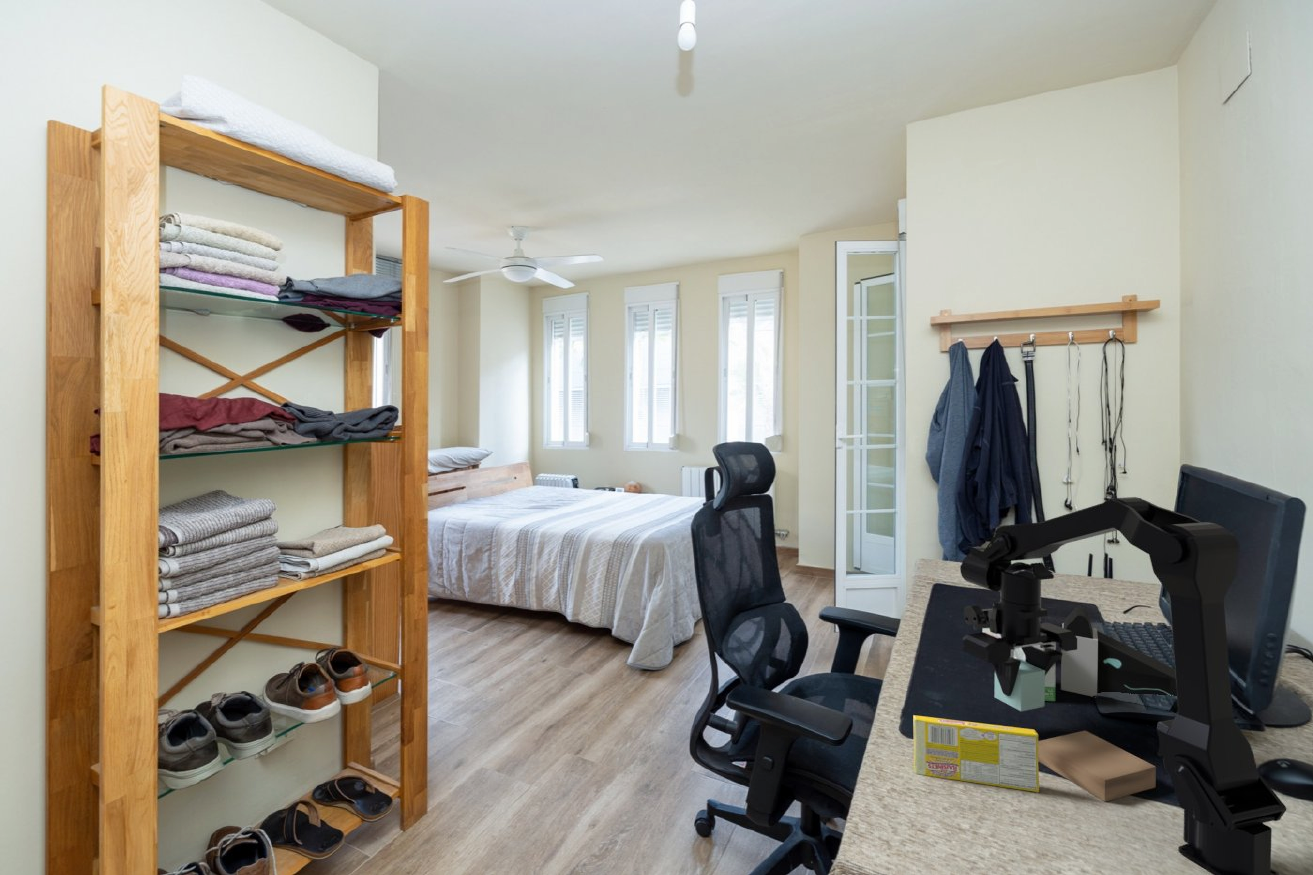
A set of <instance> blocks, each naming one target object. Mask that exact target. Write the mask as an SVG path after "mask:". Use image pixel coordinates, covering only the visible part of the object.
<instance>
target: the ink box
mask: <svg viewBox="0 0 1313 875" xmlns="http://www.w3.org/2000/svg"><path fill="white" fill-rule="evenodd" d="M1053 646H1055V650H1056V649H1057V642H1053ZM1056 651H1057V650H1056ZM1014 658H1015V659H1020V660H1022V661H1024V662H1026V658H1025V654H1024V652H1023V650H1022V648H1016V649H1015V651H1014ZM1056 662H1057V661H1056ZM1056 662H1055V663H1054V665H1053V666H1052V667H1051V669H1050V670H1049V671H1048V673H1047V674H1046V676H1045V701H1046V702H1056Z"/></svg>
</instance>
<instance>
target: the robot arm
mask: <svg viewBox="0 0 1313 875" xmlns="http://www.w3.org/2000/svg"><path fill="white" fill-rule="evenodd" d="M1116 531H1118V532H1120V534H1121V535H1122V536H1123V537H1124V538H1125V539H1126V541H1127V542H1128V543H1129V544H1130V545H1132V546H1133V547H1135V548H1137V549H1139V550H1141V551H1143V552H1144V553H1145V554H1147V555H1148V556H1149V560H1150V564H1151V568H1152V572H1153V574H1154V575H1155V576H1156V578H1157V579H1158V580H1159V582H1160V584H1161V585H1162V587H1163V588H1164V589H1165V590H1166V592H1167V594H1168V598H1169V606H1170V607H1169V609H1170V620H1171V633H1172V645H1173V646H1172V647H1173V660H1174V669H1175V674H1176V688H1177V701H1176V702H1177V712H1176V715H1175V717H1174V719H1170V720H1168V719H1167V720H1164V721H1158V722H1157V725H1156V732H1157V733H1156V734H1157V737H1158V741H1159V742H1158V744H1159V745H1158V750H1157V753H1156V754H1157V756H1158V757H1163V758H1162V761H1163V766H1164V769H1165V771H1166V774H1167V775H1168V776H1169V777H1170V780H1171V784H1172V786H1173V790H1174V793H1175V795H1176V799H1177V801H1178V804H1179V805H1178V806H1179V807H1180V808H1181V809H1182V810H1183V840H1184V843H1186V844H1182V845H1179V846H1178V848H1177V849H1178V852H1179V853H1180V854H1181V855H1183V856H1185V857H1186V858H1187V859H1189V860H1191V861H1193V862H1194V863H1195V864H1198V865H1199V866H1201V867H1203V869H1205V870H1207V871H1209V872H1210V873H1212V874H1214V875H1280V873H1279V872H1278V871H1276V870H1275V869H1273V868H1271V867H1272V865H1271V864H1272V862H1271V861H1272V858H1271V857H1272V834H1273V833H1272V827H1270V826H1269V825H1267V824H1265V823H1267V822H1268V823H1269V822H1273V821H1274V822H1278V821H1280V820H1281V819H1282V817H1283V816H1284V814H1285V813H1286V811H1287V807H1286V805H1285V803H1284V802H1282V800H1281V799H1280V797H1279V796H1278V795H1277V794H1276V792H1275V791H1274V790H1273V789H1272V788H1271V786H1270V785H1269V784H1268V782H1267V781H1266V780H1265V779H1264V777H1263V776H1262V775H1261V773H1260V772H1259V771H1258V767H1257V763H1256V759H1255V756H1254V752H1253V748H1252V745H1251V743H1250V742H1249V740H1248V739H1247V737H1246V736H1245V735H1244V733H1243V732H1242V731H1241V729H1240V728H1239V726H1238V725H1237V724H1236V721H1235V718H1234V711H1233V710H1234V709H1233V698H1232V688H1231V687H1232V686H1231V684H1232V683H1231V675H1230V662H1229V661H1230V660H1229V650H1228V638H1227V637H1228V636H1227V625H1226V612H1225V598H1226V595H1227V593H1228V591H1229V589H1230V588H1231V586H1232V584H1233V582H1234V580H1235V579H1236V577H1237V574H1238V569H1239V568H1238V566H1239V561H1240V560H1239V559H1240V558H1239V557H1240V550H1241V548H1240V545H1239V540H1238V539H1237V537H1236V535H1235V534H1233V533H1231V532H1230V531H1229V530H1228V529H1226V528H1225V527H1223V526H1222V525H1219V524H1218V523H1213V522H1209V521H1208V522H1203V521H1200V520H1198V519H1196V518H1193V517H1192V516H1189V515H1186V514H1183V513H1180V512H1176V511H1174V510H1170V509H1168V508H1164V507H1162V506H1158V505H1156V504H1155V503H1153V502H1150V501H1147V499H1146V500H1145V499H1142V498H1141V497H1136V496H1133V497H1131V496H1130V497H1128V496H1127V497H1113V498H1109V499H1106V501H1104V502H1102V503H1101V502H1100V503H1098V504H1096V505H1092V506H1089V507H1086V508H1081V509H1080V510H1076V511H1073V512H1069V513H1067V514H1066V513H1065V514H1063V515H1060V516H1057V517H1054V518H1050V519H1047V520H1043V521H1040V522H1039V521H1038V522H1030V523H1028V522H1027V523H1018V524H1017V523H1016V524H1007V525H1006V524H1005V525H1004V524H1003V525H999V526H998V527H997V528H996V529H995V530H994V536H993V538H992V539H991V540H990V542H989V543H988V544H987V546H986V547H982V546H971V547H970V548H969V550H970V551H969V553H967V555H966V556H965V557H964V558H963V560H962V562H961V565H960V567H959V568H960V574H961V577H962V578H963V579H964V581H965V582H968V583H970V584H972V585H976V586H978V587H981V588H983V589H986V590H989V591H991V592H999V598H1000V599H999V601H994V603H993V604H992V608H983V609H982V608H981V607H980V606H979V605H977V604H976V605H968V606H964V611H963V617H964V621H965V624H966V625H967V626H973V630H974V631H975V630H976V631H977V630H980V629H983V628H990V632H992V633H995V634H1000V635H1001V637H1002V638H996V637H993V636H991V635H989V634H986V633H984V632H976V633H975V632H974V633H969V634H966V635H965V636H963V637H962V651H963V652H965V653H968V654H969V655H971V656H973V657H976V658H977V659H980V660H983V661H984V662H986V663H988V664H991V666H992V668H993V670H994V674H995V673H996V675H997V678H998V681H999V683H1000V686H1001V689H1002V692H1003V694H1005V695H1007V696H1011V693H1012V691H1013V688H1014V684H1015V681H1016V677H1017V674H1018V671H1019V667H1020V663H1021V661H1019V660H1017V659H1015V658H1014V651H1015V649H1016V648H1022V650H1023V652H1024V654H1025V658H1026V662H1027V663H1029V664H1031V665H1033V666H1036V667H1038V668H1040V669H1042V670H1045V676H1046V674H1047V673H1048V671H1049V670H1050V669H1051V667H1052V666H1053V665H1054V663H1055V662H1057V661H1058V660H1059V658H1061V657H1062V655H1063V653H1061V651H1062V650H1063V651H1071V650H1077V637H1076V636H1075V635H1074V633H1073V632H1072V631H1070V630H1067V629H1064V628H1062V627H1061V626H1060V625H1056V624H1053V623H1050V622H1042V620H1041V619H1042V618H1043V617H1048V609H1046V608H1043V607H1042V580H1053V579H1054V578H1055V574H1053V572H1051V570H1049V569H1048V568H1047V567H1046V566H1045V564H1044V563H1043V562H1034V563H1033V562H1032V563H1030V564H1029V563H1026V562H1022V561H1026V560H1035V559H1037V560H1038V559H1042V558H1045V557H1048V556H1049V555H1051V554H1053V553H1056V552H1057V551H1058V550H1059V549H1060V548H1061V547H1062V546H1064V545H1066V544H1069V543H1072V542H1078V541H1081V540H1085V539H1089V538H1093V537H1098V536H1101V535H1105V534H1109V533H1112V532H1116ZM1012 561H1016V562H1013V563H1012ZM1041 622H1042V623H1041ZM1053 642H1056V644H1057V643H1058V647H1059V648H1060V649H1061V651H1058V650H1055V646H1053Z"/></svg>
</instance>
